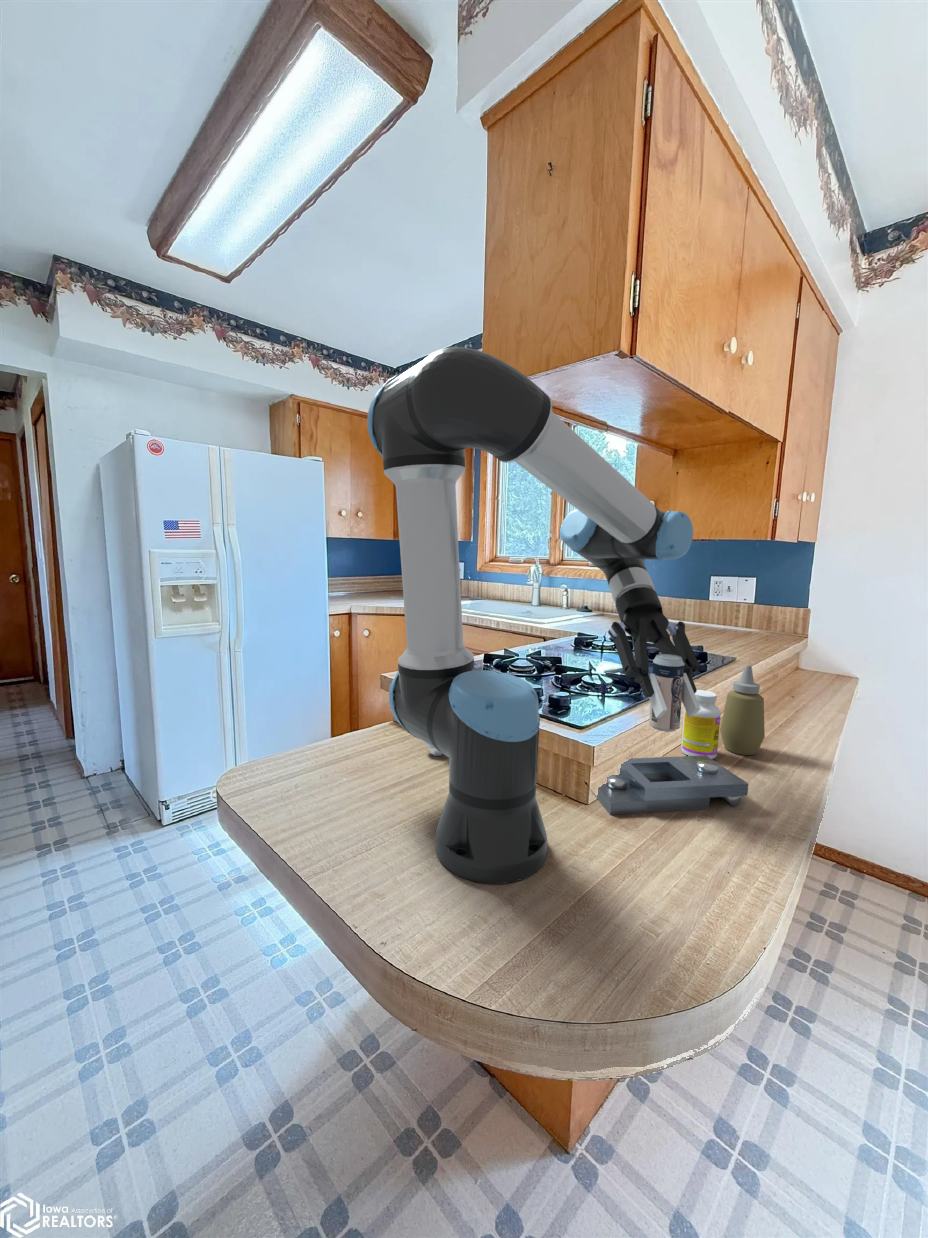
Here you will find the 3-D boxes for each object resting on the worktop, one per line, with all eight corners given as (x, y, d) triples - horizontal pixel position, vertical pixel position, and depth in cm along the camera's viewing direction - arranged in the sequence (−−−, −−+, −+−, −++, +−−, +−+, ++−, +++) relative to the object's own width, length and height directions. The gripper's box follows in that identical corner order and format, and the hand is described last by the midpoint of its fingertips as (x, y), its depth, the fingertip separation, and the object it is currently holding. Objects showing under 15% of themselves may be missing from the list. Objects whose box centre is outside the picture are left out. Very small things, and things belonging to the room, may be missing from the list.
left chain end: (610, 814, 75) (611, 796, 75) (583, 781, 86) (584, 765, 86) (708, 809, 77) (710, 791, 77) (671, 777, 88) (672, 762, 88)
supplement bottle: (717, 763, 94) (723, 699, 93) (680, 757, 97) (685, 695, 96) (716, 751, 100) (721, 691, 99) (681, 745, 103) (685, 686, 102)
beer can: (680, 734, 77) (686, 661, 75) (648, 730, 79) (653, 658, 77) (678, 724, 81) (684, 654, 80) (648, 721, 83) (653, 652, 81)
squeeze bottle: (751, 744, 105) (759, 662, 102) (770, 759, 97) (780, 671, 94) (712, 742, 106) (719, 661, 103) (728, 757, 98) (736, 670, 95)
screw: (435, 760, 94) (420, 752, 97) (454, 754, 97) (439, 746, 100) (435, 695, 92) (420, 689, 96) (455, 691, 95) (439, 685, 99)
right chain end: (643, 812, 76) (645, 782, 75) (613, 780, 87) (615, 753, 86) (746, 807, 78) (749, 777, 77) (704, 776, 89) (706, 750, 88)
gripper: (671, 610, 94) (718, 722, 80) (583, 611, 92) (615, 725, 78) (689, 585, 88) (743, 700, 74) (595, 584, 86) (632, 704, 72)
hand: (677, 713), depth 76 cm, fingers closed on beer can, 5 cm apart
